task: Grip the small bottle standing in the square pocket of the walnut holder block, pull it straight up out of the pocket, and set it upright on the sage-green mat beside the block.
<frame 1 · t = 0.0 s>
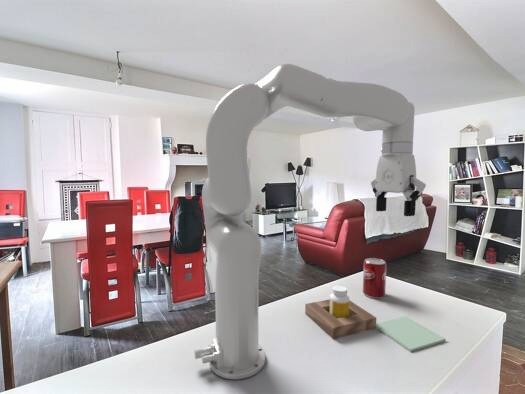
hand: (394, 213, 77), 31 cm above the kitchen counter, tool pointing down, fingers open, 9 cm apart
holder block: (338, 320, 81), on the kitchen counter
supplement bottle: (338, 321, 81), resting in holder block
place mat: (407, 333, 75), on the kitchen counter
soda can: (373, 295, 98), on the kitchen counter
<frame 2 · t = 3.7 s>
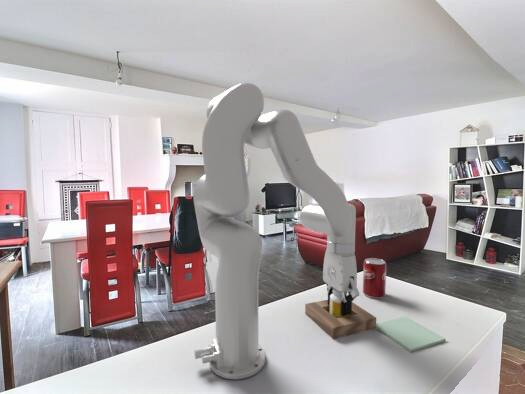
hand: (339, 308, 81), 3 cm above the kitchen counter, tool pointing down, fingers closed on supplement bottle, 5 cm apart
supplement bottle: (338, 321, 81), resting in holder block, touching gripper
everything else where it was.
when the fingers open (6 cm above the kitchen counter, at t = 10.7 s): supplement bottle drops 1 cm, resting on place mat.
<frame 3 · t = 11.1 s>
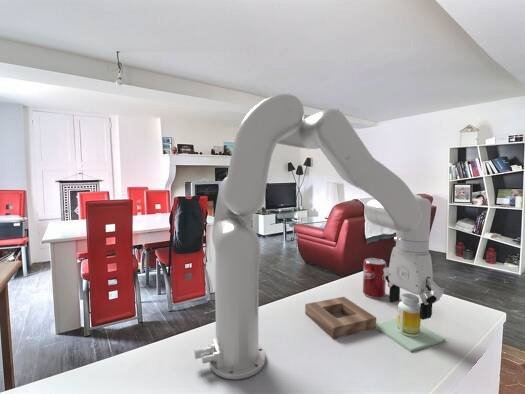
hand: (408, 309, 74), 7 cm above the kitchen counter, tool pointing down, fingers open, 9 cm apart
supplement bottle: (408, 332, 74), resting on place mat
everything else where it was.
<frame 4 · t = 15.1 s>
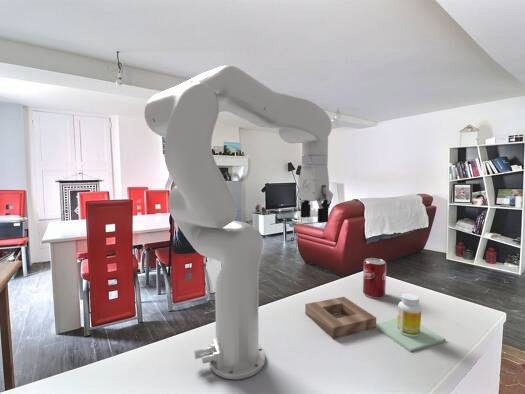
hand: (313, 219, 84), 28 cm above the kitchen counter, tool pointing down, fingers open, 9 cm apart
nothing on the kitchen counter moved.
at the end: supplement bottle inside the target area on the place mat (0.3 cm from its centre), point 0.4 cm above the place mat's base; supplement bottle tilted 0°; the gripper is holding nothing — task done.
